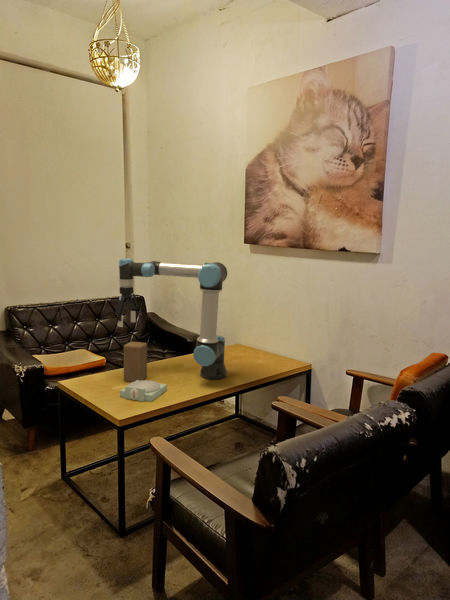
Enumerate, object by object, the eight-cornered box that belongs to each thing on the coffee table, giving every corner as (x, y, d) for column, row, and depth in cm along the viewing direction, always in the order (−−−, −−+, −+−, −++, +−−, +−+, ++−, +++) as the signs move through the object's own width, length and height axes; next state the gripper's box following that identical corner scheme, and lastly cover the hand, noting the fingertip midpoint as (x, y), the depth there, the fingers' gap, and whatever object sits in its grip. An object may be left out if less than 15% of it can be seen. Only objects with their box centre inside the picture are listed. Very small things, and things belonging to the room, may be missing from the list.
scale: (166, 390, 233) (166, 378, 232) (149, 402, 215) (149, 390, 214) (136, 385, 238) (136, 374, 237) (118, 397, 220) (118, 386, 219)
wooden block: (140, 383, 242) (140, 346, 239) (123, 381, 244) (122, 345, 241) (147, 377, 252) (147, 342, 248) (130, 375, 253) (130, 340, 250)
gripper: (132, 283, 263) (132, 319, 266) (107, 288, 240) (108, 328, 243) (143, 284, 261) (143, 320, 264) (120, 289, 237) (120, 329, 241)
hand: (127, 324), depth 254 cm, fingers open, 13 cm apart
